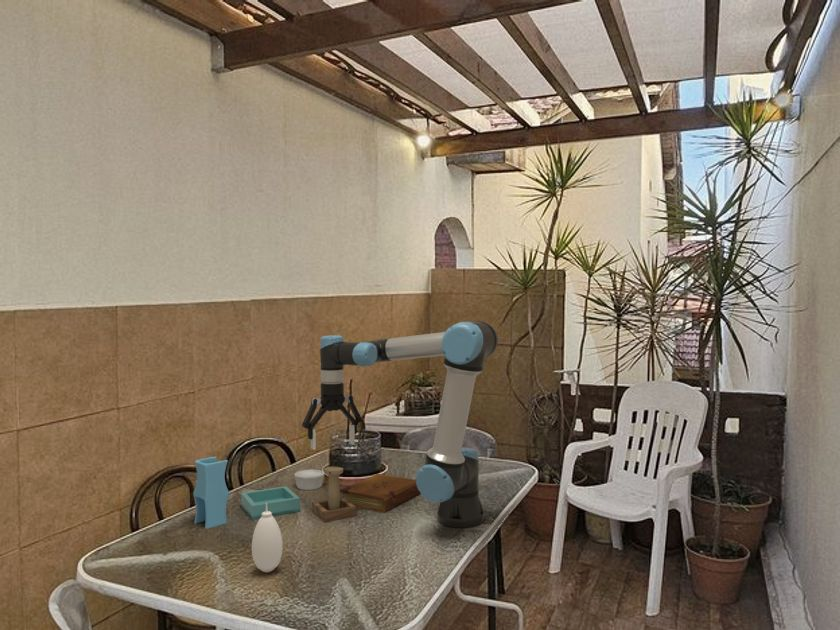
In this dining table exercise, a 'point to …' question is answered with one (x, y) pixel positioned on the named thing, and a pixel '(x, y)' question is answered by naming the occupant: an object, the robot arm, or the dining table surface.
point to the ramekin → (309, 479)
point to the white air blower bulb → (267, 543)
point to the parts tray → (270, 502)
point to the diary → (380, 492)
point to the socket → (336, 514)
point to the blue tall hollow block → (211, 492)
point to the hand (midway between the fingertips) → (332, 446)
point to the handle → (333, 486)
